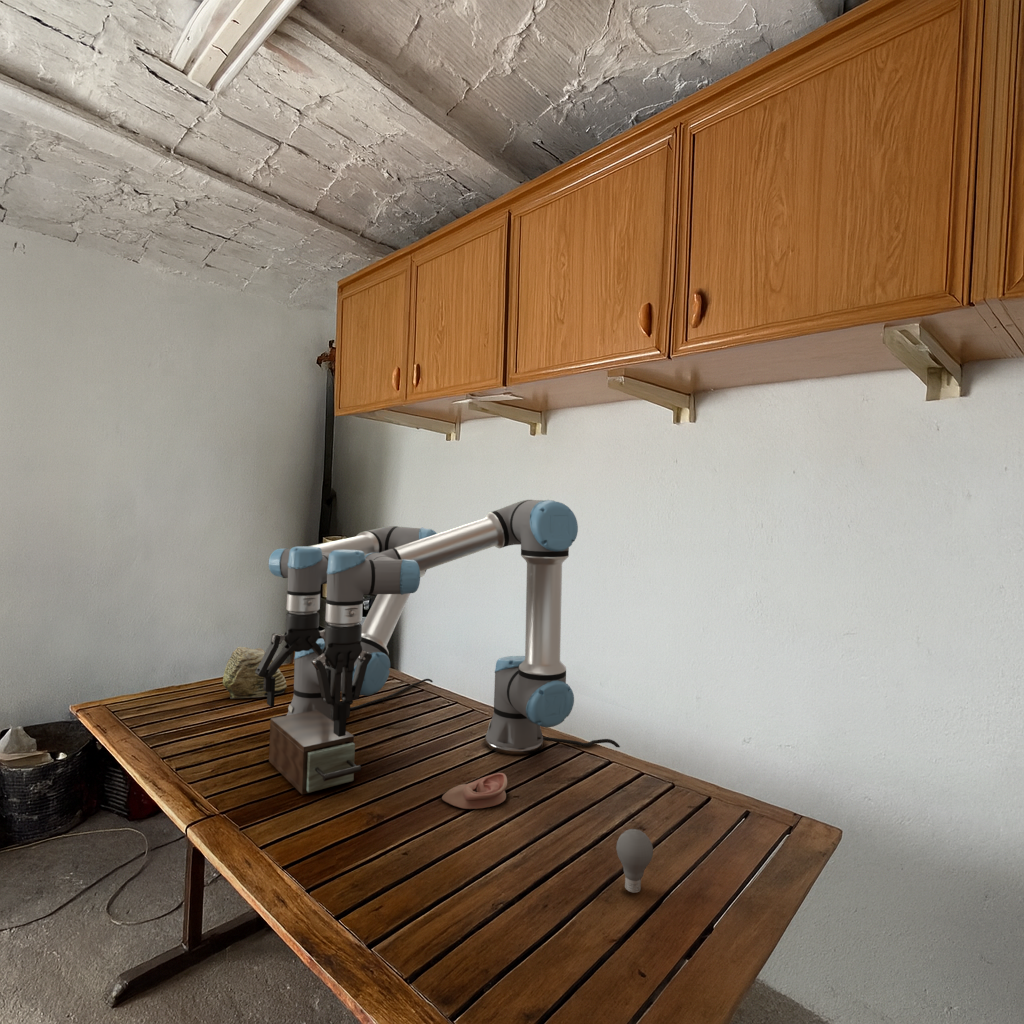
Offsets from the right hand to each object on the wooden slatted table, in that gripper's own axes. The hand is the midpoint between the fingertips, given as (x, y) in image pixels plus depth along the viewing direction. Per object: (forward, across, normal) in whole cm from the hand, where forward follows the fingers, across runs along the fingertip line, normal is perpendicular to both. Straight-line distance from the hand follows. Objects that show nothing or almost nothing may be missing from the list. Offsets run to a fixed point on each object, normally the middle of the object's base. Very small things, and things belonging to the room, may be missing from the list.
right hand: (339, 733), depth 134 cm
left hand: (-1, 0, +22) cm, 22 cm away
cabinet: (+13, 0, +15) cm, 20 cm away
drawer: (+12, 0, +10) cm, 16 cm away
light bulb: (+13, +26, -59) cm, 65 cm away
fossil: (+13, +7, +77) cm, 78 cm away
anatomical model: (+13, +24, -17) cm, 32 cm away
